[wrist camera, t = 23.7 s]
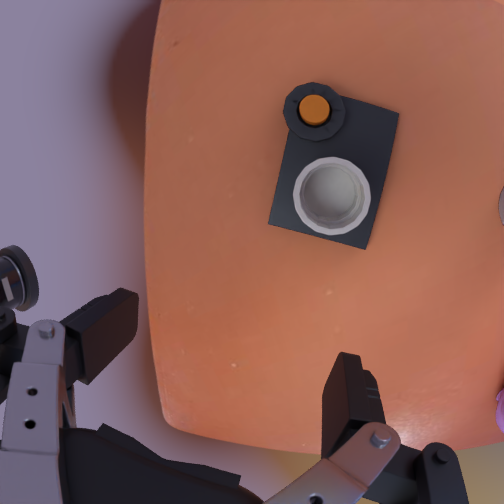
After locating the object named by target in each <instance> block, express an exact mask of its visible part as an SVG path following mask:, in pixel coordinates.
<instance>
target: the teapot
mask: <svg viewBox="0 0 504 504" xmlns="http://www.w3.org/2000/svg"><path fill="white" fill-rule="evenodd" d="M496 400H497V401H498V405H497V409H496V422H497V425H498V426H499V428H500V429H501V431H502V432H503V433H504V388H503V390H501V391H500V392H499V394H498V395H497V397H496Z"/></svg>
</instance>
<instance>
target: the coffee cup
mask: <svg viewBox="0 0 504 504" xmlns="http://www.w3.org/2000/svg"><path fill="white" fill-rule="evenodd" d="M499 214H500V218H501V221H502V223H503V225H504V188H503V190H502V192H501V195H500V199H499Z"/></svg>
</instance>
